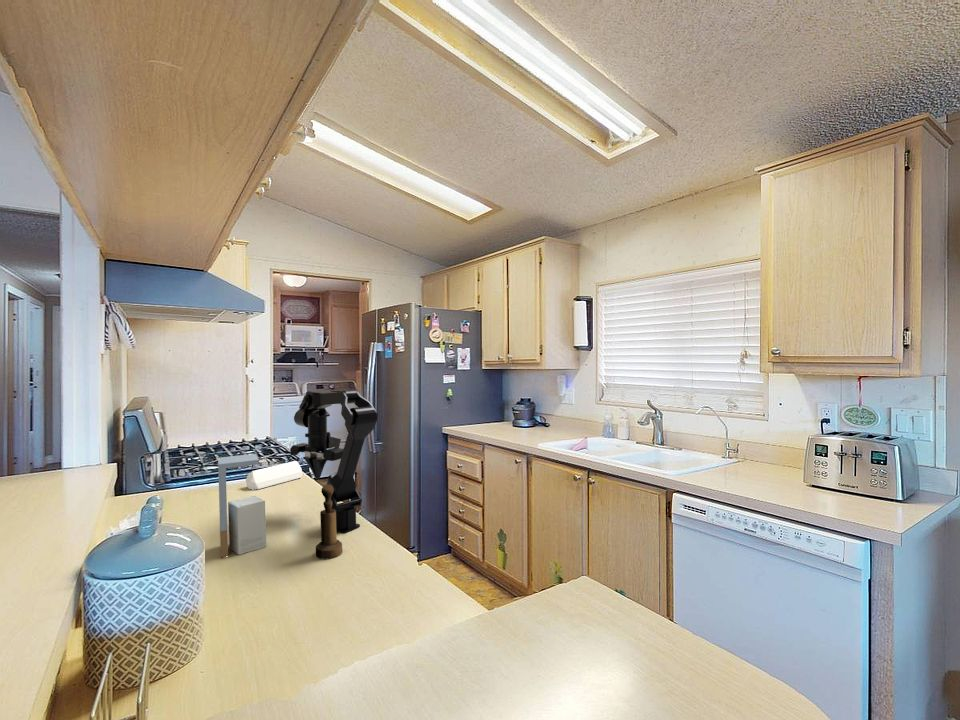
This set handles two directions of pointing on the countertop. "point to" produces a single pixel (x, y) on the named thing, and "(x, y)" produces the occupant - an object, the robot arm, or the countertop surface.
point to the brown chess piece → (328, 528)
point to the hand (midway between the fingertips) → (317, 478)
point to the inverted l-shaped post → (222, 465)
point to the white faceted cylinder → (273, 475)
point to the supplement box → (247, 524)
